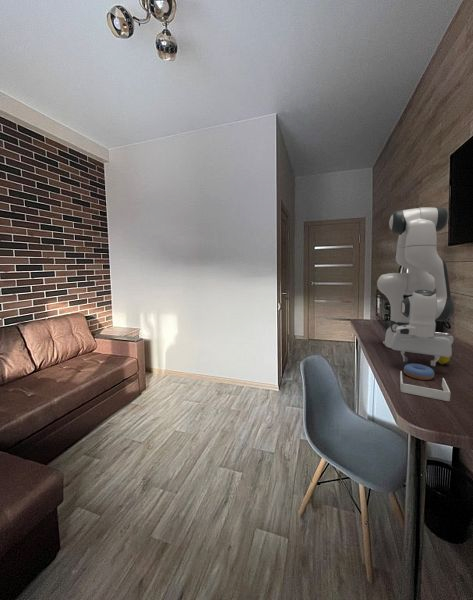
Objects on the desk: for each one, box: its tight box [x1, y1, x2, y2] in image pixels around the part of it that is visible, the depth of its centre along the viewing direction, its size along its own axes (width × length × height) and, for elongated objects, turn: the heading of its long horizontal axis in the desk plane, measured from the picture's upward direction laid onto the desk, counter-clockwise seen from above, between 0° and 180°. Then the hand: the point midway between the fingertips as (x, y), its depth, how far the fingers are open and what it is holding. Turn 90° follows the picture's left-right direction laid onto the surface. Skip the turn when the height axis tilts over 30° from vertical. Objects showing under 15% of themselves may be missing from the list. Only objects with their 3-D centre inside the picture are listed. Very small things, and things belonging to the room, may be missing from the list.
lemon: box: [433, 355, 451, 365], centre depth 117 cm, size 6×6×8 cm
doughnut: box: [403, 363, 436, 381], centre depth 105 cm, size 10×10×5 cm
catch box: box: [399, 370, 451, 403], centre depth 93 cm, size 13×13×3 cm
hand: (418, 363), depth 110 cm, fingers open, 8 cm apart
